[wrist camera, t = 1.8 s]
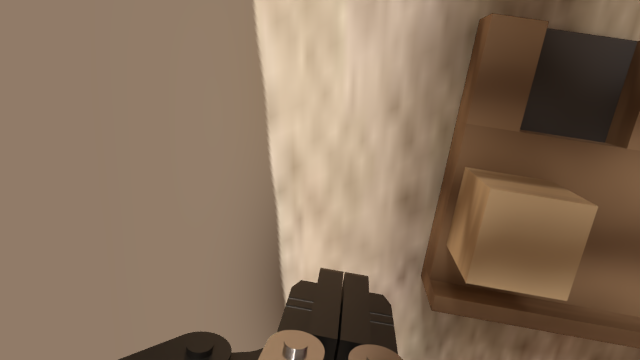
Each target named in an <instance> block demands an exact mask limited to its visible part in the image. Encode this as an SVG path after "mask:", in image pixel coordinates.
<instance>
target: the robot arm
mask: <svg viewBox="0 0 640 360" xmlns="http://www.w3.org/2000/svg"><path fill="white" fill-rule="evenodd" d="M342 281H343V286H342ZM392 316H393V315H392V308H391V304H390V303H389V302H388V301H387V299H386V298H385V297H384V296H383V295H380V294H375V293H369V281H368V276H364V275H358V274H353V273H347V272H345V275H344V280H343V272H341V271H336V270H330V269H324V268H321V269H320V273H319V278H318V283H313V282H308V281H302V280H301V281H300V282H298V283H297V284H296V285H294V286H293V287H292V288H291V291H290V294H289V298H288V300H287V303H286V307H285V310H284V313H283V316H282V319H281V322H280V325H279V328H278V331H277V333H275V334H273V335H272V336H271V337H270V338H269V339H268V340H267V342H266V344H265V346H264V348H262V349H259V350H257V351H252V352H238V353H231V346H230V344H229V342H228V341H227V340H226V339H224V338H223V337H221V336H220V335H217V334H215V333H210V332H192V333H188V334H184V335H182V336H179V337H176V338H174V339H171V340H169V341H166V342H164V343H161V344H158V345H156V346H153V347H150V348H148V349H145V350H142V351H140V352H137V353H134V354H132V355H130V356H127V357H124V358H121V359H119V360H403V359H402V358H401V357H400V356H399V355H398V351H397V344H396V337H395V330H394V322H393V318H392Z"/></svg>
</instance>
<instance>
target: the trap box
mask: <svg viewBox="0 0 640 360" xmlns="http://www.w3.org/2000/svg"><path fill="white" fill-rule="evenodd" d="M548 23H549V21H542V20H535V19H528V18H521V17H514V16H507V15H500V14H493V13H492V14H490V15H488V16H486V17H484V18H482V19H480V21H479V25H478V29H477V34H476V38H475V43H474V47H473V51H472V56H471V60H470V64H469V69H468V73H467V77H466V82H465V86H464V90H463V95H462V99H461V104H460V108H459V112H458V117H457V121H456V125H455V130H454V134H453V138H452V143H451V147H450V152H449V156H448V160H447V165H446V169H445V173H444V178H443V182H442V186H441V191H440V195H439V200H438V204H437V208H436V213H435V217H434V221H433V226H432V230H431V234H430V239H429V243H428V248H427V252H426V256H425V261H424V265H423V269H422V274H421V277H422V281H423V284H424V287H425V291H426V294H427V297H428V300H429V304H430V307H431V310H432V311H437V312H443V313H448V314H454V315H459V316H465V317H470V318H476V319H481V320H487V321H492V322H498V323H503V324H509V325H514V326H520V327H525V328H531V329H536V330H541V331H547V332H552V333H558V334H563V335H569V336H574V337H580V338H585V339H591V340H596V341H602V342H607V343H613V344H618V345H624V346H629V347H635V348H640V41H632V40H625V39H618V38H611V37H604V36H597V35H590V34H583V33H576V32H569V31H562V30H555V29H548V28H547V27H548ZM465 167H469V168H475V169H481V170H487V171H493V172H500V173H506V174H512V175H518V176H524V177H530V178H536V179H543V180H549V181H552V182H554V183H556V184H558V185H560V186H562V187H563V188H565V189H567V190H569V191H571V192H573V193H575V194H576V195H578V196H580V197H582V198H584V199H586V200H587V201H589V202H591V203H593V204H595V205H597V206H598V209H597V212H596V215H595V218H594V221H593V224H592V227H591V230H590V233H589V236H588V239H587V242H586V245H585V248H584V251H583V254H582V257H581V260H580V263H579V266H578V269H577V272H576V276H575V279H574V282H573V285H572V288H571V291H570V294H569V297H568V300H567V301H563V300H558V299H552V298H547V297H541V296H535V295H530V294H524V293H519V292H513V291H507V290H502V289H496V288H490V287H485V286H479V285H474V284H468V283H466V282H465V280H464V278H463V276H462V274H461V272H460V270H459V269H458V267H457V265H456V263H455V261H454V259H453V257H452V255H451V253H450V251H449V249H448V247H447V245H446V244H447V240H448V236H449V232H450V228H451V223H452V219H453V215H454V211H455V207H456V203H457V199H458V194H459V190H460V186H461V182H462V178H463V174H464V170H465Z"/></svg>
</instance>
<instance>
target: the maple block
mask: <svg viewBox="0 0 640 360" xmlns="http://www.w3.org/2000/svg"><path fill="white" fill-rule="evenodd" d="M597 209H598V206H597V205H595V204H593V203H591V202H589V201H587V200H586V199H584V198H582V197H580V196H578V195H576V194H575V193H573V192H571V191H569V190H567V189H565V188H563V187H562V186H560V185H558V184H556V183H554V182H552V181H549V180H543V179H536V178H530V177H524V176H518V175H512V174H506V173H500V172H493V171H487V170H481V169H475V168H469V167H465V170H464V174H463V178H462V182H461V186H460V190H459V194H458V199H457V203H456V207H455V211H454V215H453V219H452V223H451V228H450V232H449V236H448V240H447V244H446V245H447V247H448V249H449V251H450V253H451V255H452V257H453V259H454V261H455V263H456V265H457V267H458V269H459V270H460V272H461V274H462V276H463V278H464V280H465V282H466V283H468V284H474V285H479V286H485V287H490V288H496V289H502V290H507V291H513V292H519V293H524V294H530V295H535V296H541V297H547V298H552V299H558V300H563V301H567V300H568V297H569V294H570V291H571V288H572V285H573V282H574V279H575V276H576V272H577V269H578V266H579V263H580V260H581V257H582V254H583V251H584V248H585V245H586V242H587V239H588V236H589V233H590V230H591V227H592V224H593V221H594V218H595V215H596V212H597Z"/></svg>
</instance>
